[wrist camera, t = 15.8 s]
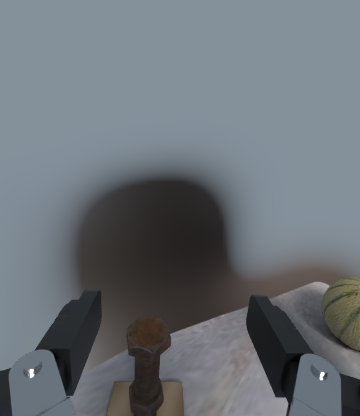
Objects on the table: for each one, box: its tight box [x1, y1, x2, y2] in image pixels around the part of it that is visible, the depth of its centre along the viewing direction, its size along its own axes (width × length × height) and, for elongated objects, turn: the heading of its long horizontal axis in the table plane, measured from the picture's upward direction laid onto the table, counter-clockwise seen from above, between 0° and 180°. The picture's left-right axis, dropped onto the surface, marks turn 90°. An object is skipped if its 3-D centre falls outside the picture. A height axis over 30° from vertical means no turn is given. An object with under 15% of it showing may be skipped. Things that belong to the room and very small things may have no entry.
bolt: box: [127, 317, 171, 416], centre depth 30 cm, size 6×5×15 cm
